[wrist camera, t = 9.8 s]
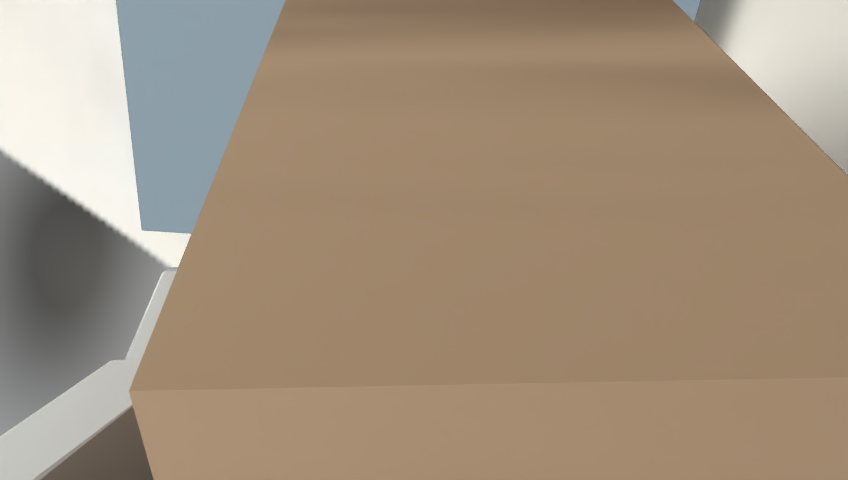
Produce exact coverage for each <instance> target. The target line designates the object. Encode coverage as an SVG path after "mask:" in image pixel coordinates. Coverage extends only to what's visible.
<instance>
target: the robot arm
mask: <svg viewBox="0 0 848 480" xmlns="http://www.w3.org/2000/svg"><path fill="white" fill-rule="evenodd" d="M177 269H178V267H173V268H169V269H167V270H165V271H164V272H163V273H162V274H161V277H160V279H159V281H158V284H157V286H156V288H155V291H154V293H153V295H152V298H151V300H150V302H149V305H148V307H147V309H146V312H145V314H144V316H143V319H142V321H141V323H140V325H139V328H138V330H137V333H136V335H135V337H134V339H133V342H132V344H131V346H130V349H129V351H128V353H127V356H126V358H125V360H112V361H110V362H108V363H107V364H105V365H104V366H102V367H101V368H100V369H98V370H97V371H95V372H94V373H92V374H91V375H89V376H88V377H86V378H85V379H83V380H82V381H80V382H79V383H78V384H76V385H75V386H74V387H72V388H70V389H69V390H67V391H66V392H65V393H63V394H62V395H60V396H59V397H57V398H56V399H54V400H53V401H51V402H50V403H48V404H47V405H46V406H44V407H43V408H41V409H40V410H38V411H37V412H35V413H34V414H32V415H31V416H29V417H28V418H26V419H25V420H24V421H22V422H21V423H19V424H18V425H16V426H15V427H13V428H12V429H10V430H9V431H8V432H6V433H5V434H3V435H2V436H0V480H154V479H153V476H152V472H151V469H150V465H149V462H148V458H147V454H146V451H145V447H144V444H143V440H142V437H141V433H140V429H139V426H138V422H137V419H136V415H135V412H134V408H133V404H132V401H131V397H130V394H129V389H130V387H131V384H132V382H133V379H134V377H135V374H136V372H137V369H138V367H139V364H140V362H141V359H142V357H143V354H144V352H145V349H146V347H147V344H148V342H149V339H150V337H151V334H152V332H153V329H154V327H155V324H156V322H157V319H158V317H159V314H160V312H161V309H162V307H163V304H164V302H165V299H166V297H167V294H168V292H169V289H170V287H171V284H172V282H173V279H174V277H175V274H176V272H177Z"/></svg>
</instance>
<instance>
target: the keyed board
mask: <svg viewBox="0 0 848 480" xmlns="http://www.w3.org/2000/svg"><path fill="white" fill-rule="evenodd" d="M673 1H674V2H675V3H676V4H677V5H678V6H679V7H680V8H681V9H682V10H683V11H684V12H685V13H686V14H687V15H688V16H689V17H690V18H691V19H692V20H693V21H695V18H696V14H697V11H698V8H699V4H700V1H701V0H673ZM284 3H285V0H116V6H117V15H118V24H119V32H120V41H121V50H122V59H123V68H124V77H125V86H126V94H127V103H128V112H129V121H130V130H131V139H132V148H133V157H134V165H135V174H136V183H137V192H138V201H139V210H140V219H141V228H142V230H144V231H160V232H175V233H191V234H192V232H193V229H194V227H195V224H196V222H197V220H198V217H199V215H200V212H201V210H202V207H203V205H204V202H205V200H206V197H207V195H208V192H209V190H210V187H211V185H212V182H213V180H214V177H215V175H216V172H217V170H218V167H219V165H220V162H221V160H222V157H223V155H224V152H225V150H226V147H227V145H228V142H229V140H230V137H231V135H232V132H233V130H234V127H235V125H236V122H237V120H238V117H239V115H240V112H241V110H242V107H243V105H244V102H245V100H246V97H247V95H248V92H249V90H250V87H251V85H252V82H253V80H254V77H255V75H256V72H257V70H258V67H259V65H260V62H261V60H262V57H263V55H264V52H265V50H266V47H267V45H268V42H269V40H270V37H271V35H272V32H273V30H274V28H275V25H276V23H277V20H278V18H279V15H280V13H281V10H282V8H283V5H284Z"/></svg>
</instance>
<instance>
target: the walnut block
mask: <svg viewBox="0 0 848 480" xmlns="http://www.w3.org/2000/svg"><path fill="white" fill-rule="evenodd" d="M129 394H130V397H131V401H132V404H133V408H134V412H135V415H136V419H137V422H138V426H139V429H140V433H141V437H142V440H143V444H144V447H145V451H146V454H147V458H148V462H149V465H150V469H151V472H152V476H153V479H154V480H848V175H847V174H846V173H845V172H844V171H843V170H842V169H841V168H840V167H839V166H838V165H837V164H836V163H835V162H834V161H833V160H832V159H831V158H830V157H829V156H828V155H827V154H826V153H825V152H824V151H823V150H822V149H821V148H820V147H819V146H818V145H817V144H816V143H815V142H814V141H813V140H812V139H811V138H810V137H809V136H808V135H807V134H806V133H805V132H804V131H803V130H802V129H801V128H800V127H799V126H798V125H797V124H796V123H795V122H794V121H793V120H792V119H791V118H790V117H789V116H788V115H787V114H786V113H785V112H784V111H783V110H782V109H781V108H780V107H779V106H778V105H777V104H776V103H775V102H774V101H773V100H772V99H771V98H770V97H769V96H768V95H767V94H766V93H765V92H764V91H763V90H762V89H761V88H760V87H759V86H758V85H757V84H756V83H755V82H754V81H753V80H752V79H751V78H750V77H749V76H748V75H747V74H746V73H745V72H744V71H743V70H742V69H741V68H740V67H739V66H738V65H737V64H736V63H735V62H734V61H733V60H732V59H731V58H730V57H729V56H728V55H727V54H726V53H725V52H724V51H723V50H722V49H721V48H720V47H719V46H718V45H717V44H716V43H715V42H714V41H713V40H712V39H711V38H710V37H709V36H708V35H707V34H706V33H705V32H704V31H703V30H702V29H701V28H700V27H699V26H698V25H697V24H696V23H695V22H694V21H693V20H692V19H691V18H690V17H689V16H688V15H687V14H686V13H685V12H684V11H683V10H682V9H681V8H680V7H679V6H678V5H677V4H676V3H675V2H674V1H673V0H285V3H284V5H283V8H282V10H281V13H280V15H279V18H278V20H277V23H276V25H275V28H274V30H273V32H272V35H271V37H270V40H269V42H268V45H267V47H266V50H265V52H264V55H263V57H262V60H261V62H260V65H259V67H258V70H257V72H256V75H255V77H254V80H253V82H252V85H251V87H250V90H249V92H248V95H247V97H246V100H245V102H244V105H243V107H242V110H241V112H240V115H239V117H238V120H237V122H236V125H235V127H234V130H233V132H232V135H231V137H230V140H229V142H228V145H227V147H226V150H225V152H224V155H223V157H222V160H221V162H220V165H219V167H218V170H217V172H216V175H215V177H214V180H213V182H212V185H211V187H210V190H209V192H208V195H207V197H206V200H205V202H204V205H203V207H202V210H201V212H200V215H199V217H198V220H197V222H196V224H195V227H194V229H193V232H192V234H191V237H190V239H189V242H188V244H187V247H186V249H185V252H184V254H183V257H182V259H181V262H180V264H179V267H178V269H177V272H176V274H175V277H174V279H173V282H172V284H171V287H170V289H169V292H168V294H167V297H166V299H165V302H164V304H163V307H162V309H161V312H160V314H159V317H158V319H157V322H156V324H155V327H154V329H153V332H152V334H151V337H150V339H149V342H148V344H147V347H146V349H145V352H144V354H143V357H142V359H141V362H140V364H139V367H138V369H137V372H136V374H135V377H134V379H133V382H132V384H131V387H130V389H129Z"/></svg>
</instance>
